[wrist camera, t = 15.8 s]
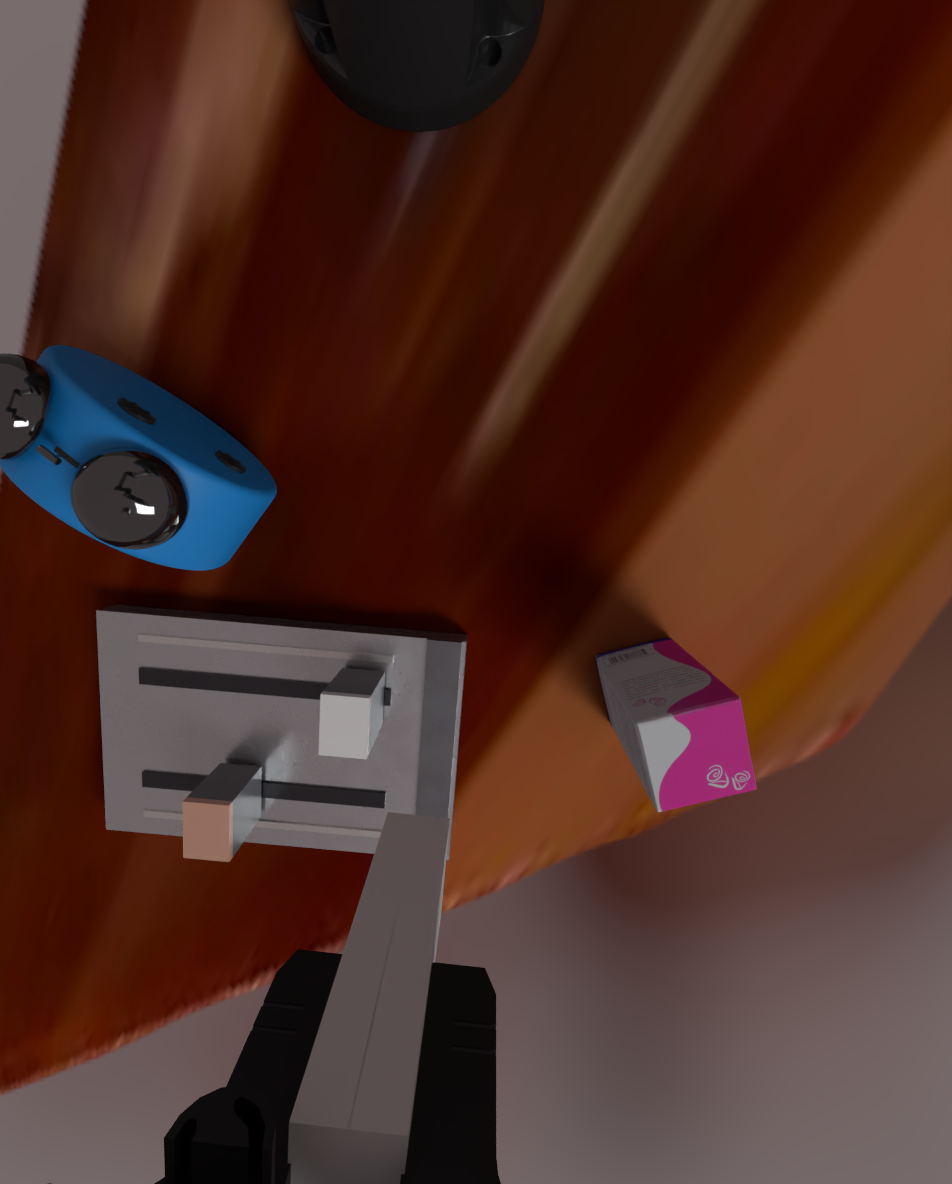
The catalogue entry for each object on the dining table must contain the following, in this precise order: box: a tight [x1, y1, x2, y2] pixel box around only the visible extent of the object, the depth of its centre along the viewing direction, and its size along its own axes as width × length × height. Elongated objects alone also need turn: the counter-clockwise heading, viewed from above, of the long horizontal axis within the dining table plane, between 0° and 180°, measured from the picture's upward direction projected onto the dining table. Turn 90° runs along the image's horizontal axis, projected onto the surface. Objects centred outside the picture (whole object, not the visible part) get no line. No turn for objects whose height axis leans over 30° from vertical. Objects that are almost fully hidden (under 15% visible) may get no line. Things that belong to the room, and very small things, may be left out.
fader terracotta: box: [182, 763, 262, 862], centre depth 38 cm, size 4×3×5 cm
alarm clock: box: [0, 345, 277, 570], centre depth 32 cm, size 13×6×15 cm, turn 51°
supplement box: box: [595, 638, 756, 812], centre depth 36 cm, size 6×6×12 cm
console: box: [96, 605, 467, 860], centre depth 41 cm, size 17×26×2 cm, turn 85°
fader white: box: [319, 668, 385, 759], centre depth 37 cm, size 4×3×5 cm
